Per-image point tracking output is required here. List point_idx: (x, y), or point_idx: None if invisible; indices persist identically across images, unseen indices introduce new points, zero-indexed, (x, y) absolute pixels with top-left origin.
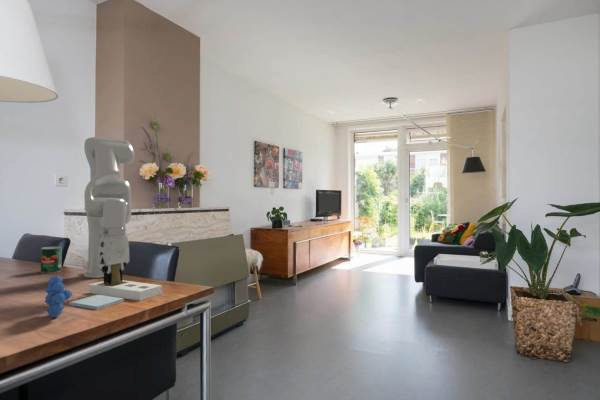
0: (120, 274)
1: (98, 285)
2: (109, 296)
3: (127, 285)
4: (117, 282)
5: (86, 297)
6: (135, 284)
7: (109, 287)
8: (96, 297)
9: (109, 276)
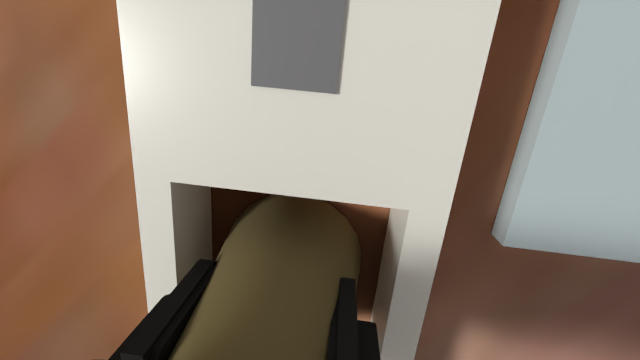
0: (180, 319)
1: (407, 351)
2: (559, 88)
3: (320, 66)
4: (288, 245)
5: (619, 258)
6: (226, 18)
7: (448, 208)
8: (610, 180)
9: (354, 358)
